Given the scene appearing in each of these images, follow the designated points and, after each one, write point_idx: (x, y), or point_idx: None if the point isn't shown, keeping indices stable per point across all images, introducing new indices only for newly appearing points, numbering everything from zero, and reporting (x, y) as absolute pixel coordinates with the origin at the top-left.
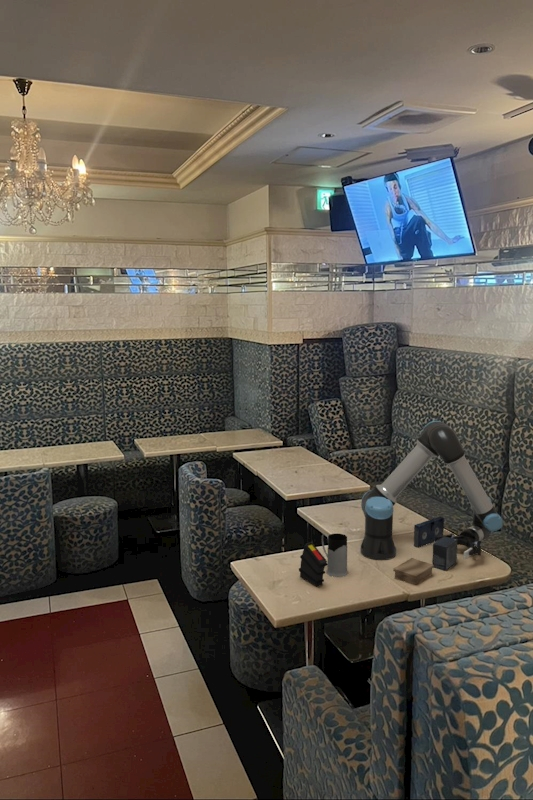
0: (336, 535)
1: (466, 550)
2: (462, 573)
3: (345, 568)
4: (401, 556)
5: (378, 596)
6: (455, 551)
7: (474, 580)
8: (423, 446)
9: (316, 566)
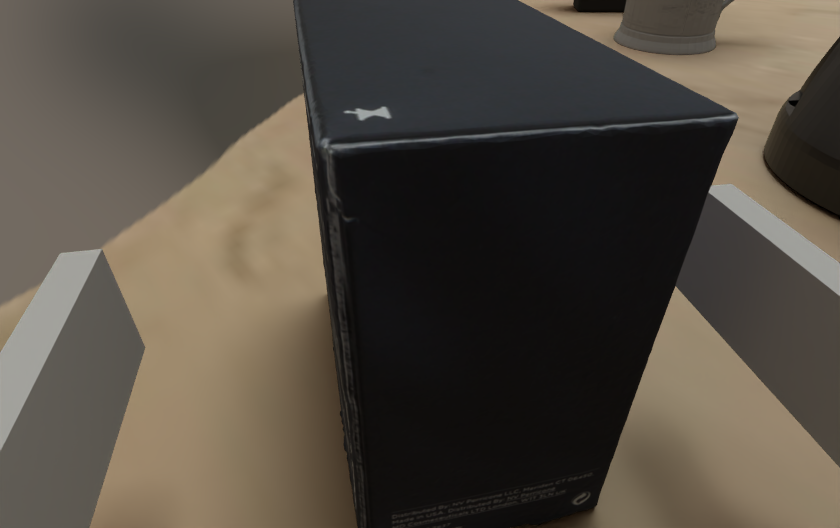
0: None
1: (54, 331)
2: (157, 361)
3: (631, 10)
4: (823, 244)
5: None
6: (334, 329)
7: None
8: None
9: None
